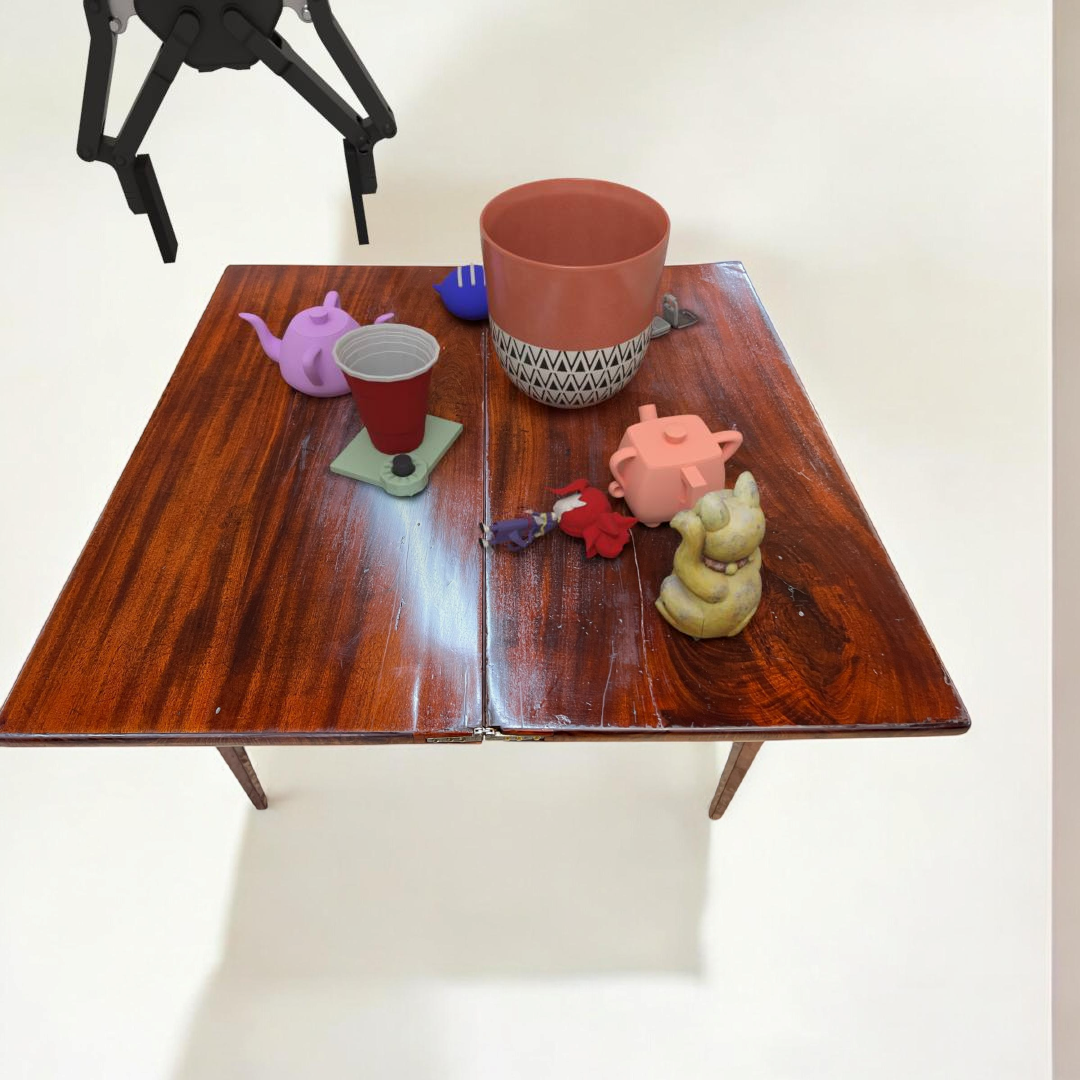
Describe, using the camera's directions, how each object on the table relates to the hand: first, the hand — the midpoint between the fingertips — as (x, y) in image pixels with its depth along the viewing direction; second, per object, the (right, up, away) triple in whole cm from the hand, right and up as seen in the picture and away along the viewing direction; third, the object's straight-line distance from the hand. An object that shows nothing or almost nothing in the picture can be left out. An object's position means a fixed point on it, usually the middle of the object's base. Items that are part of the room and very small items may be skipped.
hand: (268, 245), depth 62 cm
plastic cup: (+4, -10, +33) cm, 35 cm away
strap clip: (+37, +7, +50) cm, 63 cm away
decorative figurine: (+35, -28, +17) cm, 49 cm away
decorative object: (+10, +9, +53) cm, 55 cm away
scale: (+4, -11, +33) cm, 35 cm away
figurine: (+22, -23, +23) cm, 39 cm away
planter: (+23, -4, +41) cm, 47 cm away
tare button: (+5, -14, +27) cm, 31 cm away
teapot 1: (-6, -1, +43) cm, 43 cm away
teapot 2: (+33, -17, +28) cm, 47 cm away
